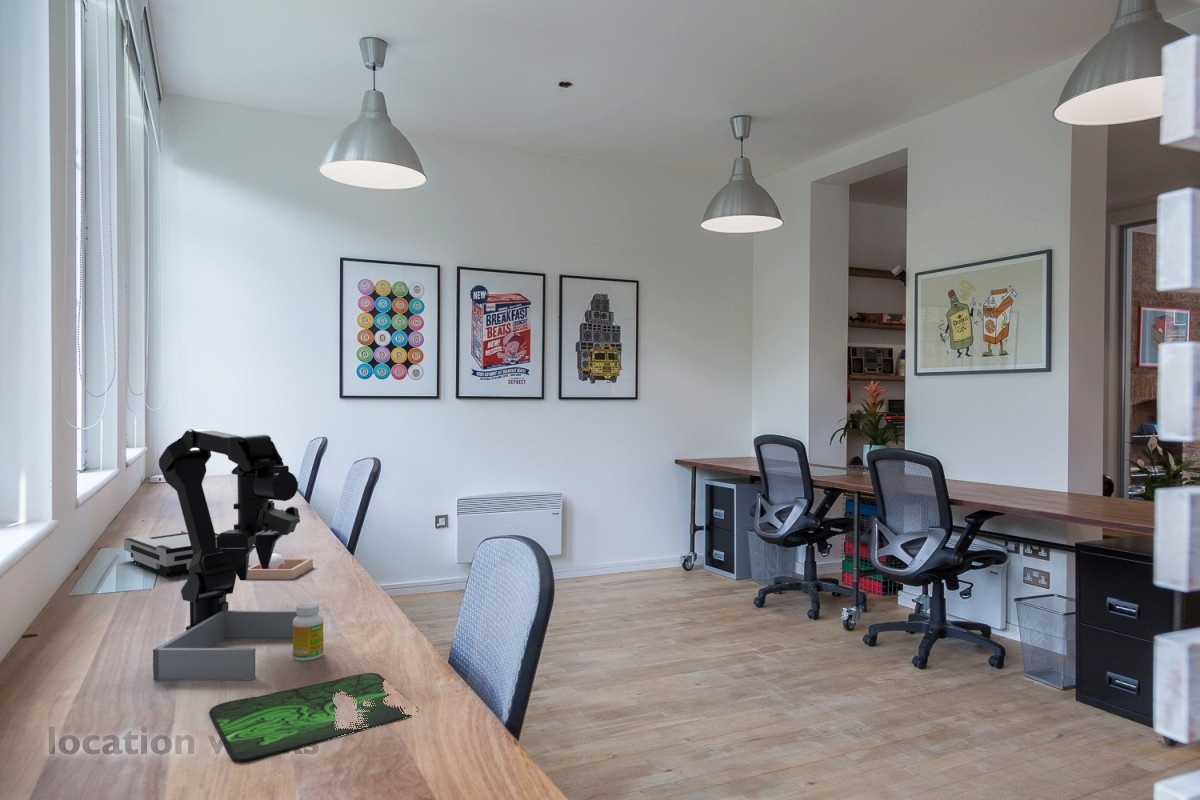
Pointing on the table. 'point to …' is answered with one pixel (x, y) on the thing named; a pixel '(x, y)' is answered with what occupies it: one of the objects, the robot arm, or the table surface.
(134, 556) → the game console
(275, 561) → the stress ball
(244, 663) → the open side box
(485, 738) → the table surface
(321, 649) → the supplement bottle
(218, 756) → the table surface
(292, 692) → the mouse mat
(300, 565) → the ball dish
